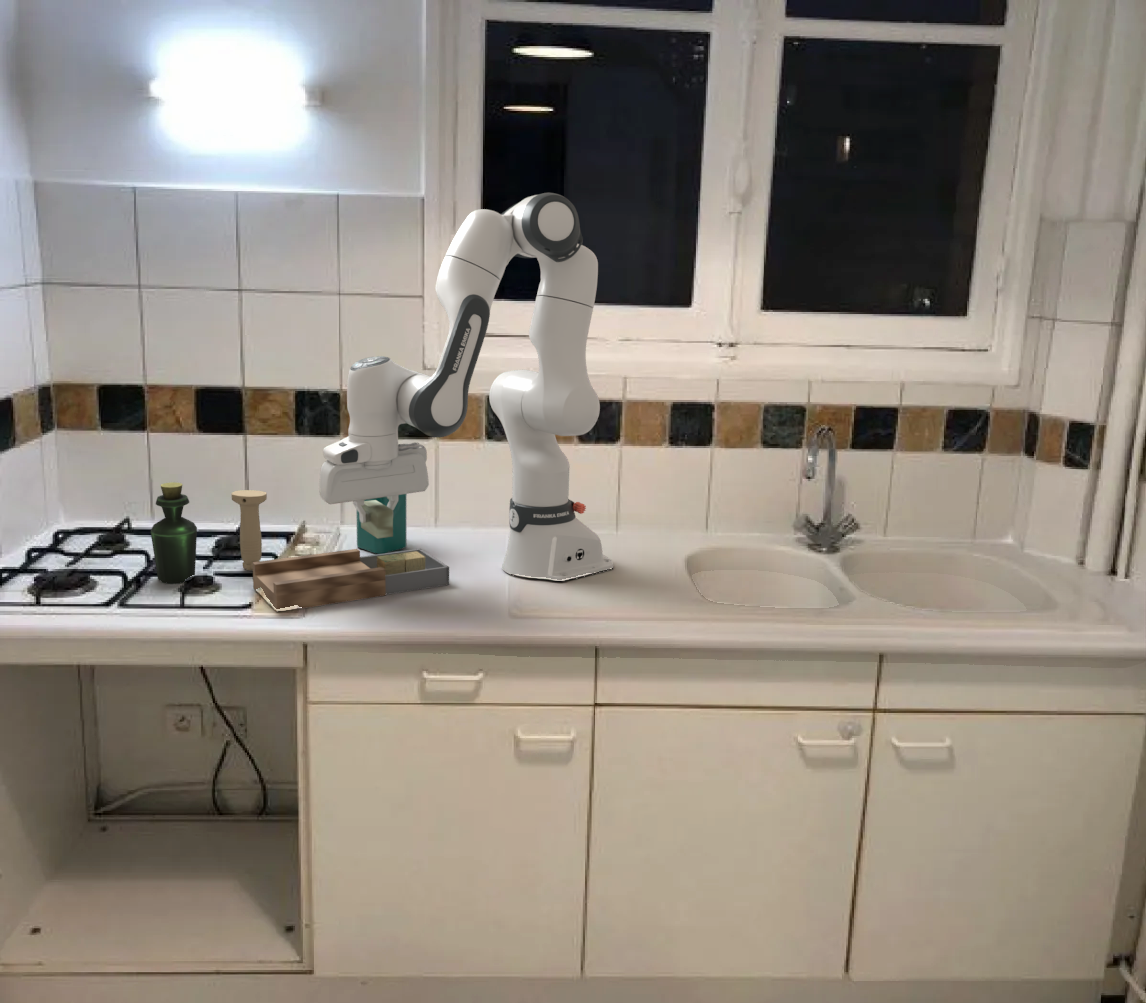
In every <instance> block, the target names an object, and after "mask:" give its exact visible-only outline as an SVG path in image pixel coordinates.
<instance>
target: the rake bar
mask: <svg viewBox="0 0 1146 1003" xmlns="http://www.w3.org/2000/svg"><path fill="white" fill-rule="evenodd" d="M361 506H362V505H361ZM362 508H363V509H364V511H367V512H369V513H370V519H371V521H370V522H367V523H362V522H361V528H363V529H364V530H366V531H367V532H369V533H370V534H372V535H373V536H375V537H376V538H385V537H392V536H393V510H392V509H390V508H388V507H387V506H385V505H383V504H382V503H380V502H378V501H377V500H371V501H364V505H363V506H362Z"/></svg>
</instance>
